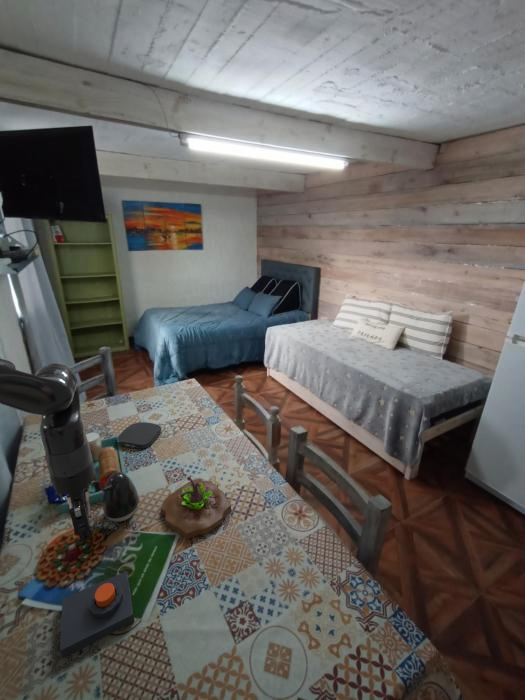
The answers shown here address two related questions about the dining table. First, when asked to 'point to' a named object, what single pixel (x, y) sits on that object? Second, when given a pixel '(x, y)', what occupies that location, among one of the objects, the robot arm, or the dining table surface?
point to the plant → (195, 508)
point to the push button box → (94, 615)
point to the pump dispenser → (119, 497)
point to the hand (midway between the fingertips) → (85, 522)
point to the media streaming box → (139, 435)
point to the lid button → (105, 595)
